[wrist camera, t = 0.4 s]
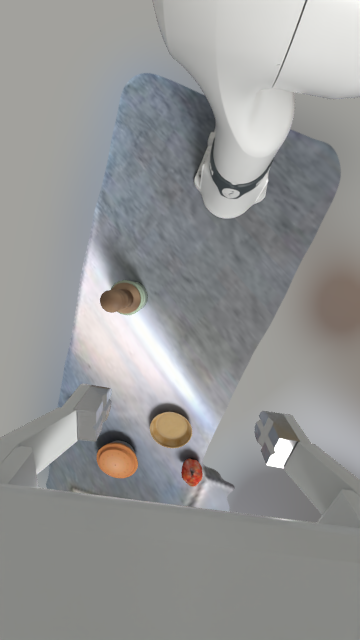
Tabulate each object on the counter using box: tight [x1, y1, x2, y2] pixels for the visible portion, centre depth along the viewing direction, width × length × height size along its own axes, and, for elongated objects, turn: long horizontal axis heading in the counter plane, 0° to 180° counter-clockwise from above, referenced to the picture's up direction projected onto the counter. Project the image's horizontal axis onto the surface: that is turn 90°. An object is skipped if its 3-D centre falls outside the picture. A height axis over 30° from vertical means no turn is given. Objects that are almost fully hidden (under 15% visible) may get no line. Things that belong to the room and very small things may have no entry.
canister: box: [111, 280, 148, 315], centre depth 52 cm, size 10×10×6 cm
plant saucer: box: [150, 412, 192, 448], centre depth 63 cm, size 15×15×3 cm
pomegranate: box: [181, 459, 202, 486], centre depth 63 cm, size 7×7×10 cm
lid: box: [100, 283, 141, 314], centre depth 45 cm, size 8×8×9 cm
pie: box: [97, 440, 138, 478], centre depth 66 cm, size 16×16×5 cm
